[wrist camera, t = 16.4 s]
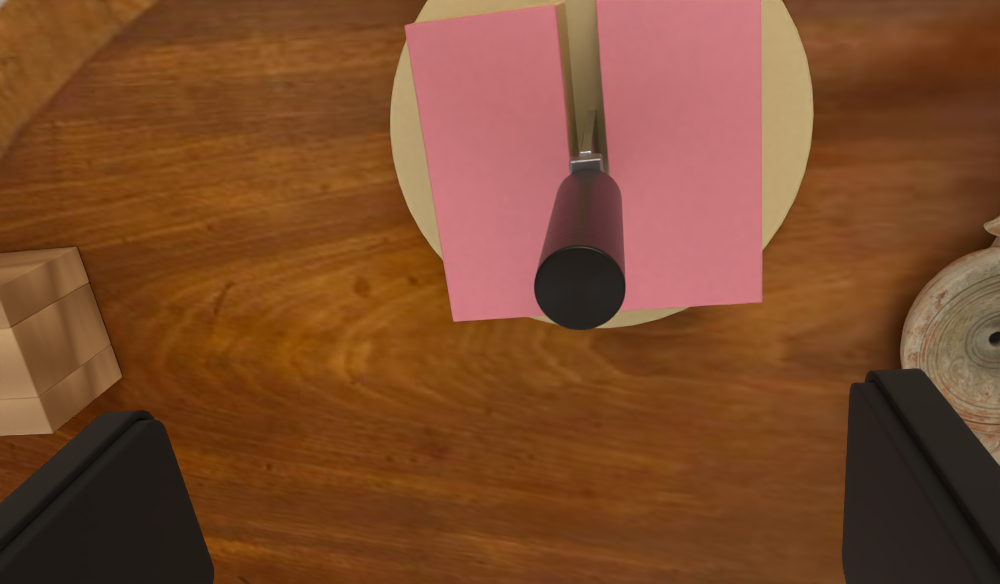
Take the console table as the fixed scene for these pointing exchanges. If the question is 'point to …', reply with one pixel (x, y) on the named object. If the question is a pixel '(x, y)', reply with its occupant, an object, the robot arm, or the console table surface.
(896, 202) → the console table surface
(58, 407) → the knife block
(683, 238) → the cake
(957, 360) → the oil lamp
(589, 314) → the knife
